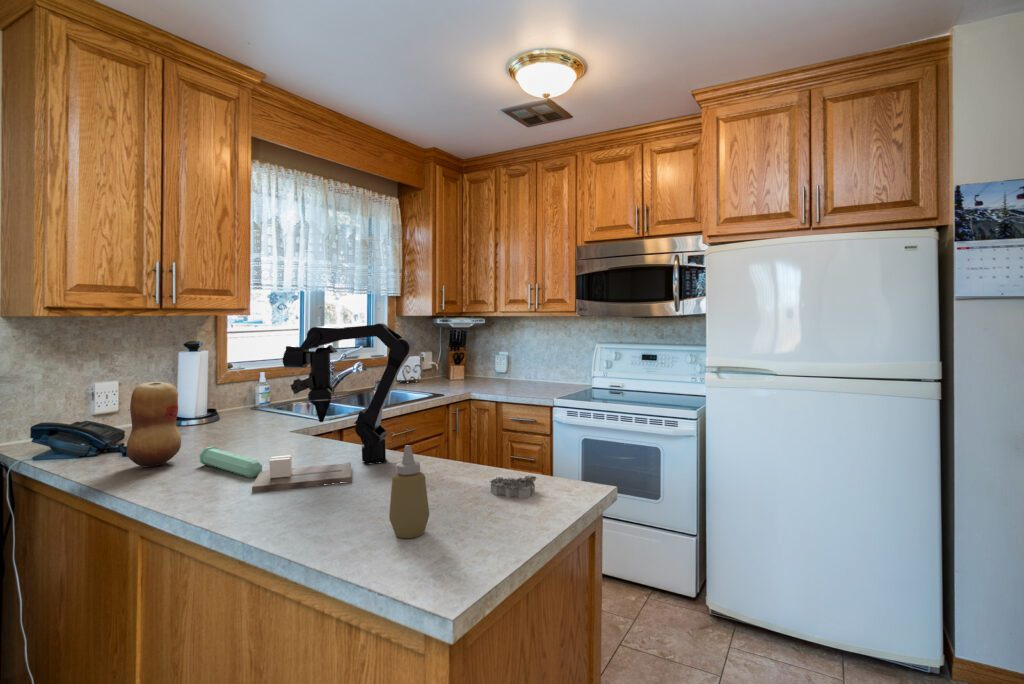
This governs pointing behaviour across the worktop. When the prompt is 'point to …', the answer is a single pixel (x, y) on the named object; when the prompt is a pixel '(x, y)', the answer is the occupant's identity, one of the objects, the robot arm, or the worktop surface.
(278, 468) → the fader knob
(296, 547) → the worktop surface
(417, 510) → the squeeze bottle
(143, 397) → the butternut squash
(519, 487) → the egg carton
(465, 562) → the worktop surface
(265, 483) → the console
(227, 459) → the container
